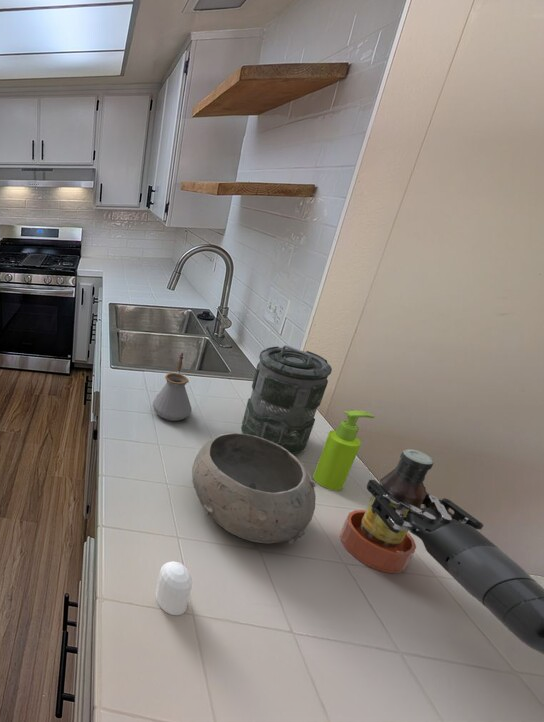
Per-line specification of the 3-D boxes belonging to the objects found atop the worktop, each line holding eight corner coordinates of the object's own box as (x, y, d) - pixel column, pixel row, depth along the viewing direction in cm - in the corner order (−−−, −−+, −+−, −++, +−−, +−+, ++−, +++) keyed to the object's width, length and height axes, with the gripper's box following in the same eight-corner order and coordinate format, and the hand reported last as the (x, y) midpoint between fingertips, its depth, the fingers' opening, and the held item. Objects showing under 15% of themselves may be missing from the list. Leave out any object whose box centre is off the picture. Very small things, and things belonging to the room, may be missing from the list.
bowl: (169, 477, 95) (178, 427, 89) (257, 471, 97) (271, 422, 91) (220, 564, 74) (236, 506, 68) (330, 554, 75) (355, 497, 70)
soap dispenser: (353, 490, 91) (383, 420, 83) (323, 490, 91) (351, 420, 83) (335, 473, 96) (362, 405, 88) (307, 472, 96) (332, 405, 88)
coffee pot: (188, 428, 113) (196, 384, 107) (148, 419, 118) (154, 376, 112) (193, 394, 131) (201, 354, 125) (159, 387, 135) (164, 348, 130)
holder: (400, 542, 78) (409, 524, 76) (411, 583, 70) (422, 564, 68) (338, 519, 83) (345, 502, 81) (341, 555, 75) (350, 537, 73)
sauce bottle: (361, 517, 79) (396, 438, 72) (401, 536, 75) (443, 454, 68) (355, 536, 75) (392, 454, 67) (398, 557, 71) (442, 472, 63)
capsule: (151, 585, 70) (156, 555, 67) (179, 583, 70) (186, 553, 67) (162, 616, 65) (168, 585, 62) (192, 614, 65) (200, 582, 62)
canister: (317, 447, 105) (350, 355, 94) (281, 465, 99) (311, 368, 88) (263, 417, 118) (286, 333, 107) (228, 431, 112) (249, 343, 101)
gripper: (541, 549, 56) (435, 469, 71) (438, 545, 56) (355, 466, 72) (516, 584, 59) (420, 500, 74) (418, 579, 59) (343, 497, 75)
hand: (388, 484), depth 73 cm, fingers closed on sauce bottle, 6 cm apart
